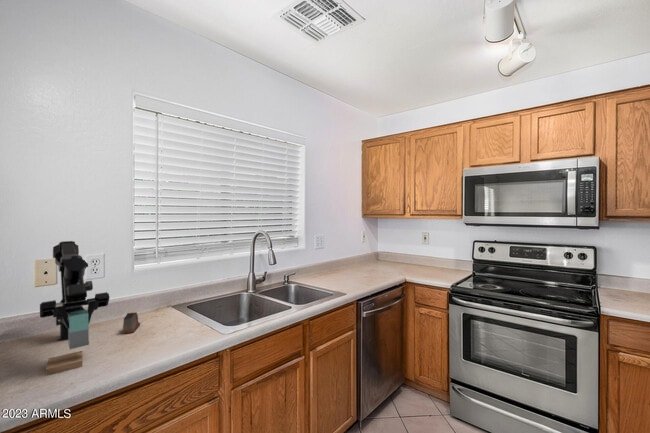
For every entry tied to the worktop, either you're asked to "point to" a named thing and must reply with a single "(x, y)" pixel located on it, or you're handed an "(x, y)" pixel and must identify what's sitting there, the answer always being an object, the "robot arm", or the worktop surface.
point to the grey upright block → (130, 322)
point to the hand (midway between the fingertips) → (78, 325)
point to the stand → (64, 362)
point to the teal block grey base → (78, 329)
